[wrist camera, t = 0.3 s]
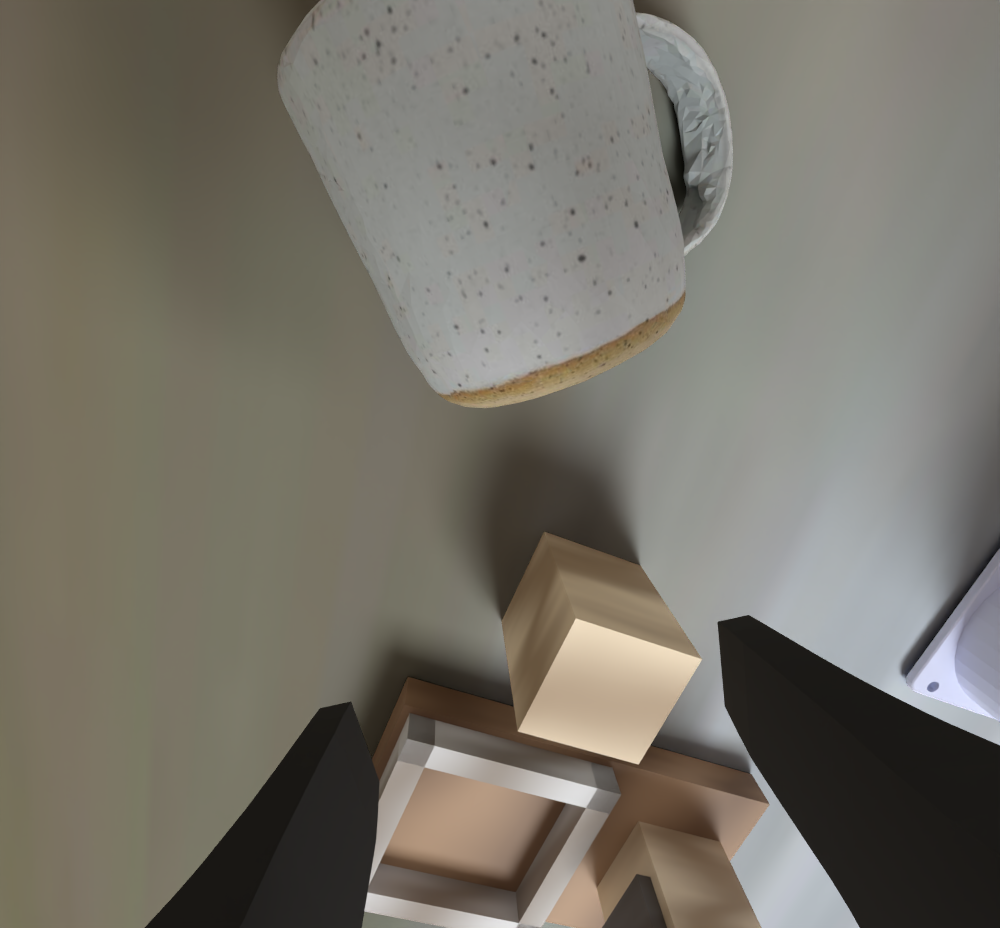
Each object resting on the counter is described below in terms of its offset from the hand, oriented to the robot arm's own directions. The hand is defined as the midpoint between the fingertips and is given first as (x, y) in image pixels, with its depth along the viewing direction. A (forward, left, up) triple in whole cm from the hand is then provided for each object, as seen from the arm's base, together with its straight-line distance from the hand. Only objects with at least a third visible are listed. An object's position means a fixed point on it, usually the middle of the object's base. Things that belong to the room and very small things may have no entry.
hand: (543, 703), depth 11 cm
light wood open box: (-7, +12, -10) cm, 17 cm away
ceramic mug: (+3, -10, -10) cm, 14 cm away
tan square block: (-4, +2, -10) cm, 11 cm away
